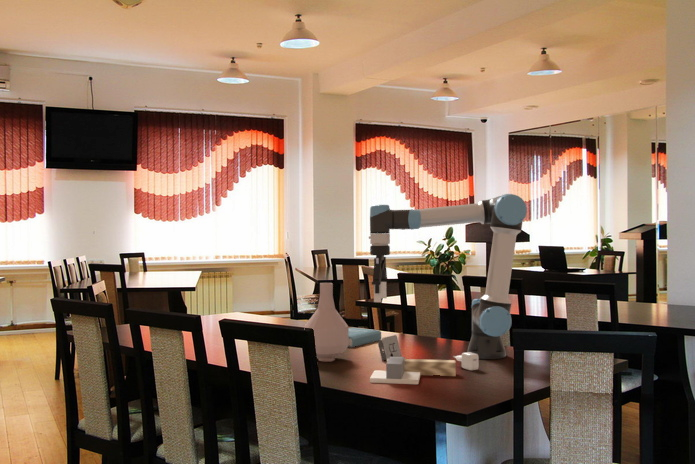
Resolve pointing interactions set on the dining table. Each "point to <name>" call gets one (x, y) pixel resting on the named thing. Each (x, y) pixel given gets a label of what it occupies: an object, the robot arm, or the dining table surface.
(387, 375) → the fulcrum
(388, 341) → the electrical switch
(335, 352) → the vase
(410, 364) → the beam
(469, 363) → the power adapter
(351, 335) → the book
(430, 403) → the dining table surface
